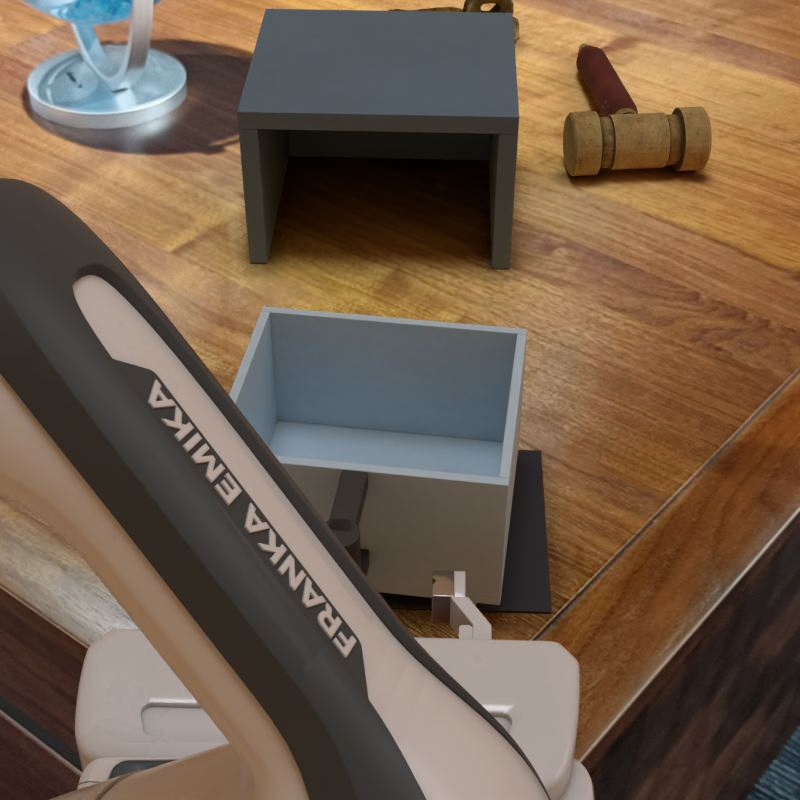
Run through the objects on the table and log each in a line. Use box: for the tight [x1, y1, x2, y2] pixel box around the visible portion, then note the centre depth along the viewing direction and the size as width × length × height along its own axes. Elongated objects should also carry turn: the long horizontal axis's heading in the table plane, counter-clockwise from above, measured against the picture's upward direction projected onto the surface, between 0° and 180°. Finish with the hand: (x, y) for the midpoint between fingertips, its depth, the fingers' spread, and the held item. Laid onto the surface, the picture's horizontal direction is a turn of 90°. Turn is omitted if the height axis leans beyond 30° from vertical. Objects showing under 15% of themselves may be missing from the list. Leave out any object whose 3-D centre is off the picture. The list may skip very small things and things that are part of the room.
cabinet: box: [236, 8, 520, 270], centre depth 93 cm, size 17×16×11 cm
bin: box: [228, 305, 528, 605], centre depth 67 cm, size 14×17×9 cm
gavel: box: [562, 42, 713, 177], centre depth 106 cm, size 21×5×10 cm
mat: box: [379, 449, 552, 614], centre depth 72 cm, size 18×12×1 cm, turn 88°
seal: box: [386, 0, 520, 42], centre depth 116 cm, size 9×5×15 cm
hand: (343, 577), depth 60 cm, fingers open, 8 cm apart
